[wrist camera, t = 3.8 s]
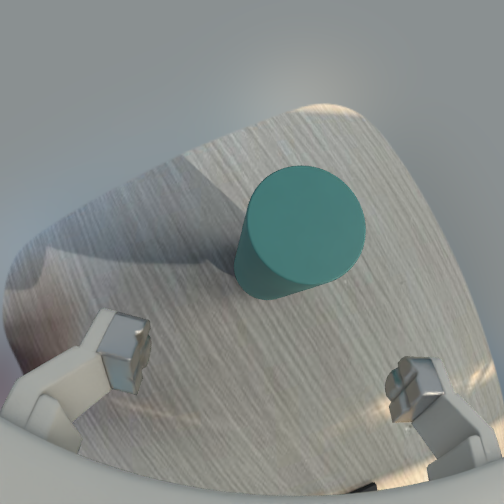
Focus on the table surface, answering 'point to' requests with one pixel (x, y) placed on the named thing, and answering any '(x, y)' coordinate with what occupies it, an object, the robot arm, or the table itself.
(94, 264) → the table surface
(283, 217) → the cylinder
